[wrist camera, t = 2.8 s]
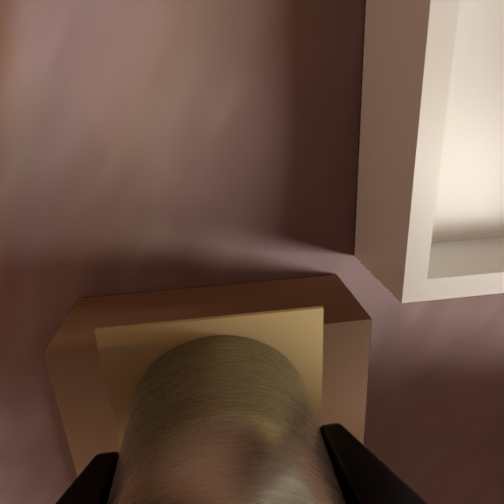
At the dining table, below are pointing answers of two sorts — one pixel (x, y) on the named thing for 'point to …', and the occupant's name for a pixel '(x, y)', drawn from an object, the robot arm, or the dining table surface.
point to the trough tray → (432, 148)
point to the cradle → (197, 326)
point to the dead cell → (223, 431)
